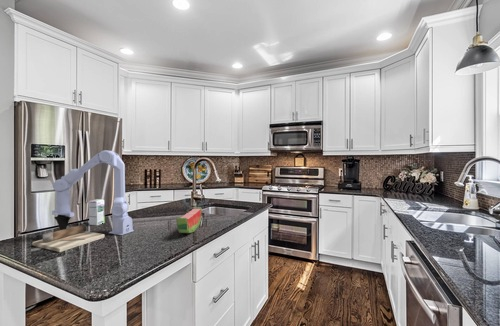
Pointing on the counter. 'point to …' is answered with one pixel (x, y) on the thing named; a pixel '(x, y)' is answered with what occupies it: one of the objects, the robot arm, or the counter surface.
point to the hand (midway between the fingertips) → (63, 229)
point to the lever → (63, 233)
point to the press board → (69, 241)
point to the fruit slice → (189, 221)
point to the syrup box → (96, 212)
